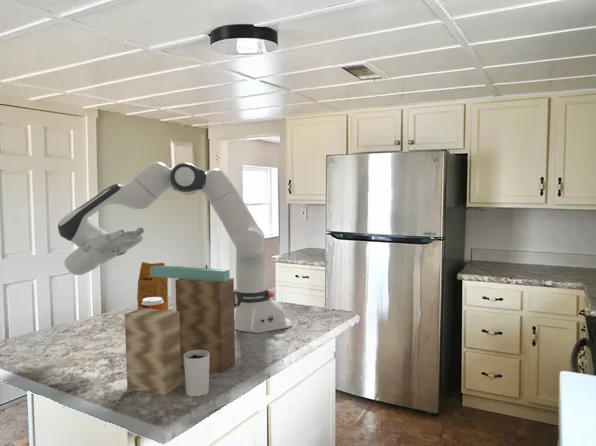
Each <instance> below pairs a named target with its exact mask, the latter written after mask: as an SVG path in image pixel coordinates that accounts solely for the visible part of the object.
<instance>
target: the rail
mask: <svg viewBox="0 0 596 446" xmlns="http://www.w3.org/2000/svg"><path fill="white" fill-rule="evenodd" d="M230 273H231V272H230V269H224V268H221V269H220V268H209V267H207V268H206V267H189V266H188V267H187V266H184V267H176V266H171V265H165V266H157V265H156V266H152V267H150V277H163V278H169V279H171V278H178V279H193V280H207V281H222V282H225V281H228V280H230V278H231V276H230V275H231V274H230Z"/></svg>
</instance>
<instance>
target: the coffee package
mask: <svg viewBox="0 0 596 446" xmlns="http://www.w3.org/2000/svg"><path fill="white" fill-rule="evenodd" d="M156 265H157V266H166V263H164V262H157V263H156V262H155V263H149V262H145V261H142V262H141V265H140V269H139V275H138V280H137V294H136V296H137V297H136V300H137V310H138V309H141V308H142V304H141V303H142V300H143V299H144V298H149V297H161V298H162V299H163V301H164V302H163V310H169V298H168V295H169V294H168V293H169V292H168V291H169V285H168V284H169V279H168V278H163V277H150V267H152V266H156Z"/></svg>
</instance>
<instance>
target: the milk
mask: <svg viewBox="0 0 596 446" xmlns="http://www.w3.org/2000/svg"><path fill="white" fill-rule="evenodd" d="M175 267H185V266H183V265H176V266H175ZM175 280H178V278H170V290H171V291H170V293H171V296H170V297H171V311H176V283H175Z"/></svg>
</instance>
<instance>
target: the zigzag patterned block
mask: <svg viewBox="0 0 596 446" xmlns="http://www.w3.org/2000/svg"><path fill="white" fill-rule="evenodd" d="M124 329H125V331H124V332H125V333H124V334H125V360H126V363H125V364H126V365H125V366H126V383H127V385H126V387H127V389H128V390H134V391H140V392H144V393H152V394H157V395H161V396H166V395H168V394H170V393H171V392H172V391H174V390H175V389H177V388H178V387H179V386H181V385H182V367H181V356H180V318H179V311H172V310H169V309H168V310H159V309H149V308H141V309H138V308H137V309H136V310H134V311H133V310H132V311H131V312H127V313H124Z"/></svg>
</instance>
